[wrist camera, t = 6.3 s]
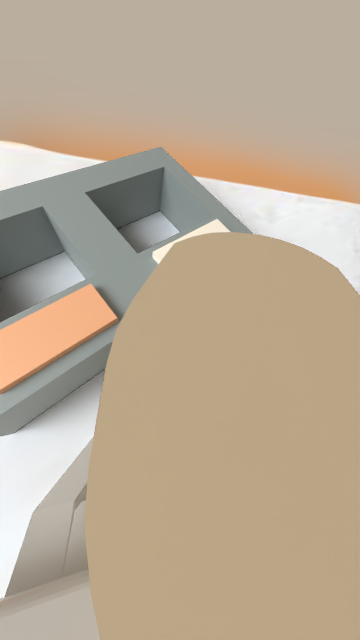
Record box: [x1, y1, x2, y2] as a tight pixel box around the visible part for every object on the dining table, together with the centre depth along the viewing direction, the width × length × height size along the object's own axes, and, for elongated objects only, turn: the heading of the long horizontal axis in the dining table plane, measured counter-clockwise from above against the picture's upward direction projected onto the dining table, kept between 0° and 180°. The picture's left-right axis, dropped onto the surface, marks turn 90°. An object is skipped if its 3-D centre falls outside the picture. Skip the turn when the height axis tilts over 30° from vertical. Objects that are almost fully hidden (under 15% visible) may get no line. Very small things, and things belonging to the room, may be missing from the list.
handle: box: [84, 232, 360, 640], centre depth 9 cm, size 5×6×15 cm
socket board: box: [0, 147, 253, 436], centre depth 17 cm, size 24×15×6 cm, turn 130°
